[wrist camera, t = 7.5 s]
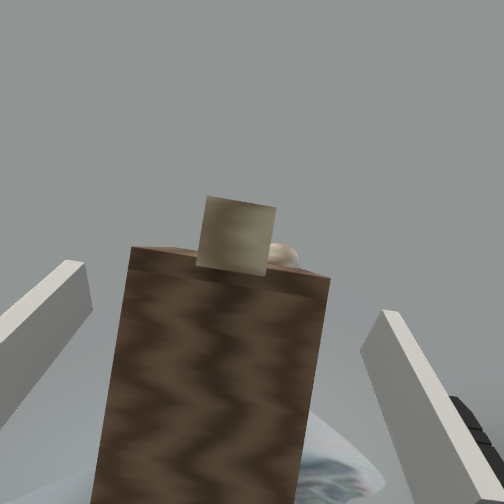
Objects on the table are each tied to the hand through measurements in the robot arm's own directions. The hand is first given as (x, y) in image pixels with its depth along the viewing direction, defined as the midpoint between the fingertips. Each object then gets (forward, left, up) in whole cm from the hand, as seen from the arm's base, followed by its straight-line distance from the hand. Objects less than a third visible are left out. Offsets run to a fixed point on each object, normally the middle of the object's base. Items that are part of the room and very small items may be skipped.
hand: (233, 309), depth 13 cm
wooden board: (0, +15, +1) cm, 15 cm away
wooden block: (0, +20, -33) cm, 38 cm away
